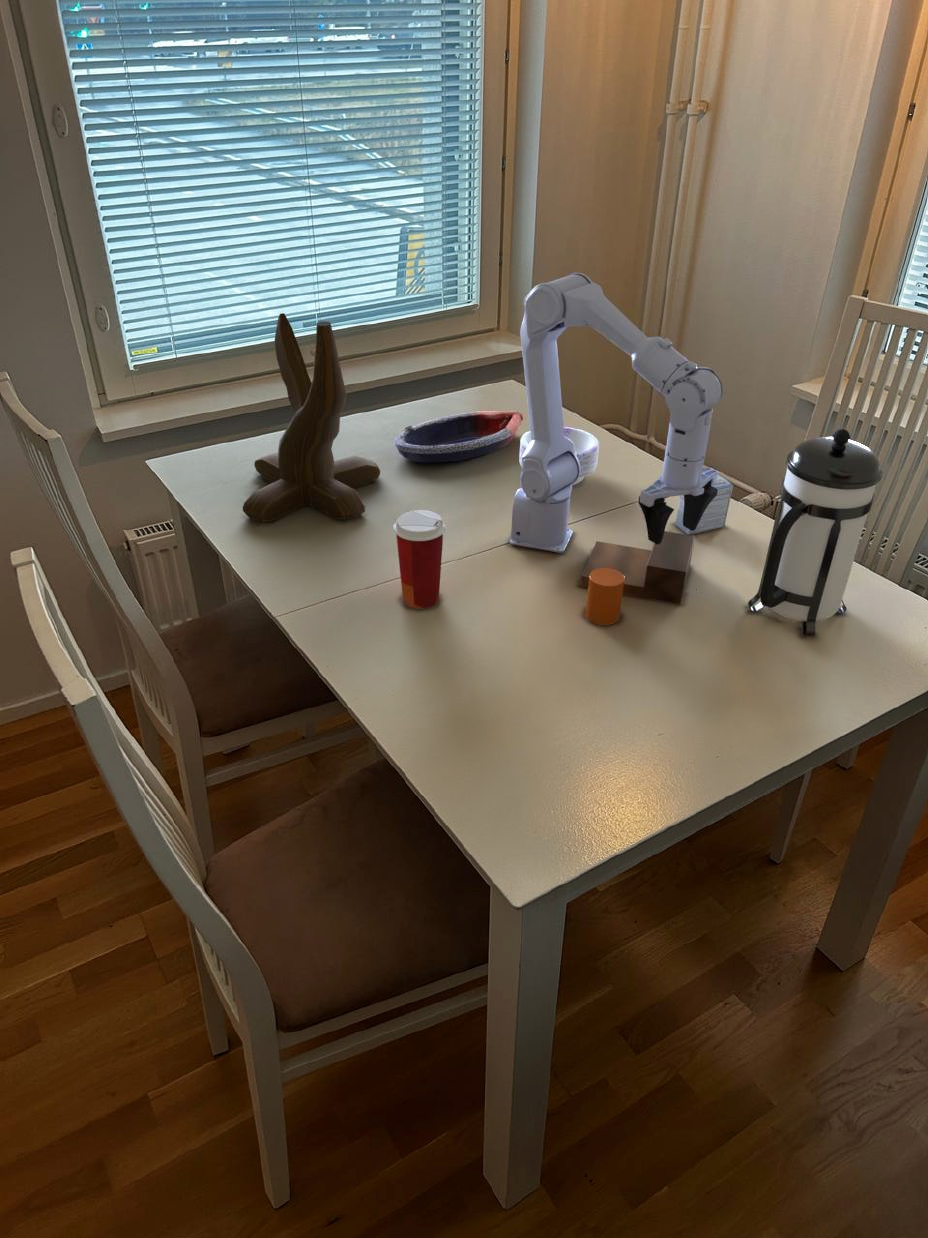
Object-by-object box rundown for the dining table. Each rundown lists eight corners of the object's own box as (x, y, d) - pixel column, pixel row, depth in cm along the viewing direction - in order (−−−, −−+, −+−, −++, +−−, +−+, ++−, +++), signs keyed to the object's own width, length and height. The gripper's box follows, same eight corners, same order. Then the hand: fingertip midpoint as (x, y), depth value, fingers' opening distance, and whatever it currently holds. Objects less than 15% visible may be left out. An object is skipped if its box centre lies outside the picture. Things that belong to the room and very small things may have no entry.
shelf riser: (580, 586, 148) (583, 554, 144) (595, 551, 157) (598, 520, 154) (680, 604, 144) (686, 572, 140) (689, 567, 153) (695, 535, 150)
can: (582, 621, 140) (586, 582, 136) (589, 603, 144) (593, 565, 140) (616, 627, 138) (621, 588, 134) (622, 609, 142) (627, 571, 138)
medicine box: (710, 517, 168) (718, 473, 163) (725, 527, 164) (734, 484, 160) (674, 524, 165) (681, 481, 160) (688, 536, 162) (696, 491, 157)
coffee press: (733, 581, 149) (770, 405, 132) (834, 588, 148) (884, 411, 131) (749, 644, 135) (793, 456, 118) (861, 651, 134) (921, 462, 117)
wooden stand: (414, 503, 171) (411, 312, 151) (271, 545, 157) (246, 342, 137) (341, 449, 190) (329, 274, 171) (208, 482, 177) (178, 297, 157)
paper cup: (452, 591, 146) (452, 513, 138) (435, 616, 140) (434, 536, 132) (406, 582, 148) (404, 504, 140) (387, 607, 142) (384, 527, 134)
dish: (379, 449, 191) (378, 426, 188) (503, 421, 204) (504, 399, 201) (415, 477, 180) (414, 453, 177) (543, 446, 193) (545, 423, 190)
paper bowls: (565, 455, 189) (568, 418, 185) (611, 483, 179) (615, 445, 174) (503, 470, 183) (505, 433, 178) (547, 501, 172) (550, 462, 168)
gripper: (669, 475, 128) (657, 558, 136) (739, 451, 135) (723, 532, 143) (634, 457, 133) (624, 539, 141) (703, 435, 140) (689, 514, 148)
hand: (671, 534), depth 142 cm, fingers open, 7 cm apart
